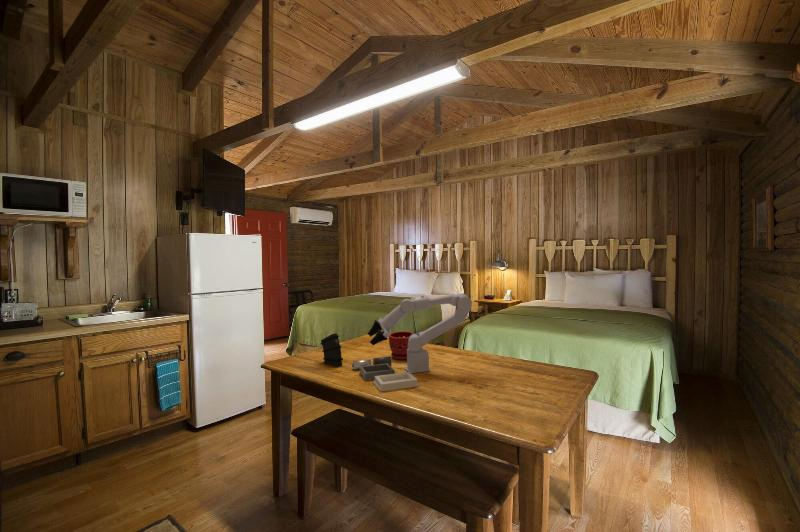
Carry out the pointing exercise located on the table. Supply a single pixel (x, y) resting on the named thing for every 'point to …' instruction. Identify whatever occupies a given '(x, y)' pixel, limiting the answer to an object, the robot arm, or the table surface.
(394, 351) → the plant pot
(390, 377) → the trough board
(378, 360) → the cylinder
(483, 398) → the table surface
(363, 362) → the silver cell
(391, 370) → the bin
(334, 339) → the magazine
